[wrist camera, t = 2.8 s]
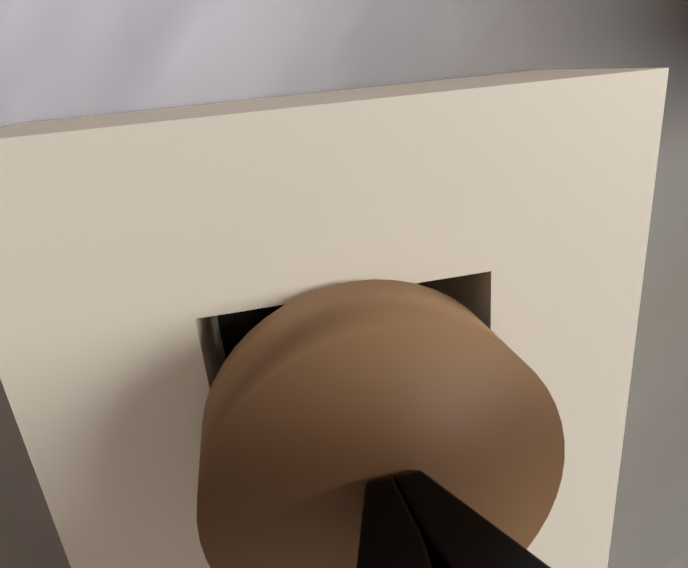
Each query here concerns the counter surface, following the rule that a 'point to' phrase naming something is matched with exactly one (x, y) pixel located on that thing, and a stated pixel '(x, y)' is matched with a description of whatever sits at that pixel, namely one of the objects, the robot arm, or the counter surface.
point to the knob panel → (315, 271)
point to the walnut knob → (367, 424)
